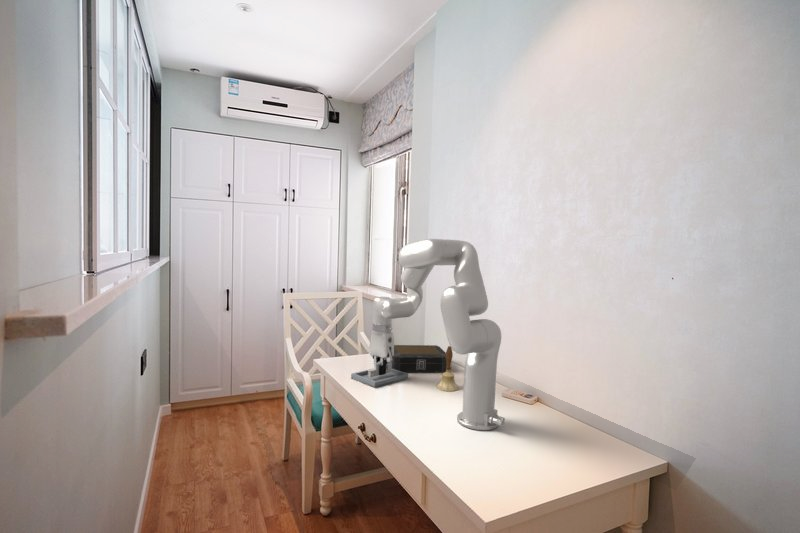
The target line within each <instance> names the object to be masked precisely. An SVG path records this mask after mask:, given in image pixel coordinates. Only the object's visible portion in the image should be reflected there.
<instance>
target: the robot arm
mask: <svg viewBox="0 0 800 533" xmlns="http://www.w3.org/2000/svg"><path fill="white" fill-rule="evenodd" d="M398 261H399V265H400V266H401V267H402V268H404V270H403V272H401V275H400V281H401V283H402V285H404V287H406V288H407V289H409V292H408V294H407V296H406V297H399V298H391V297H389V296H376V297H374V299H373V305H372V306H373V308H372V330H371V334H370V340H369V356H370V357H371V358H372V359H373V363H377V362H379V361H381V362H380V364H381V365H379V375H384V374H386V365H387V363H388V362H390V361H392V357H393V356H394V345H395V341H394V340H395V339H394V333H393V327H392V325H393V324H392V323H393V320H394V319H401V318H410V317H412V316H413V315H414V314H416V312H417V310H418V309H419V307H420V306H421V304H422V301H423V297H424V296H423V294H424V293H423V287H422V286H423V285H424V283H425V281H426V280H427V278H428V277H429V275H430V274H431V272H432V270H433V269H434V267H435V266H454V270H453V279H454V283H455V285H451V286H448V287H447V288H445V289H444V290H443V292H442V294H441V295H440V296H441V297H440V302H439V303H440V305H439V306H440V311H441V316H442V319H443V320H442V321H443V324H444V330H445V333H446V337H447V341H448V344H449V346H451V349H452V351H453V352H455V353H456V354H458V355H466V358H465V362H464V374H463V375H464V377H463V394H462V395H463V397H462V398H463V399H462V411H461V412H459V413H458V414H457V416H456V421H457V423H459V425H461V426H462V427H465V428H468V429H471V430H476V431H491V430H494V429H497V428H498V427H500V428H503V427H504V425H505V417H503V416H501V415H499V414H498V409H496V408H495V406H496V404H495V403H496V402H495V401H496V382H497V368H498V358H499V357H498V356H499V351H500V347H501V344H502V331H501V329H500V326H499V325H498V323H497V322H495V321H493V319H492V320H491V319H487V318H481V319H470V317H474V316H480V315H482V314H484V313H486V311H487V310H488V308H489V299H488V295H487V292H486V287H485V284H484V280H483V276H482V272H481V269H480V263H479V256H478V252H477V249H476V248H475V246H474V245H473V244H472V243H470V242H468V241H464V240H458V239H442V238H441V239H440V238H428V239H427V238H426V239H423V240H418V241H413V242H411V243H407V244H405V245H404V246H403V247H402V248H401V249H400V250H399V253H398ZM384 359H385V360H384Z"/></svg>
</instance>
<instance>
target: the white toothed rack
mask: <svg viewBox="0 0 800 533" xmlns="http://www.w3.org/2000/svg"><path fill="white" fill-rule="evenodd" d="M384 360H385V359H384ZM380 362H381V361H379V362H377V363H374V362H373V365H374V366H373V368H371V369H370V368H369V369H370V370H369V369H367V370H368V377H374V376H378V375H379V365H381V364H380ZM391 370H392V361H390V362H388V363H387V365H386V373H390V372H391Z"/></svg>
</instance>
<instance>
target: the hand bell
mask: <svg viewBox="0 0 800 533" xmlns="http://www.w3.org/2000/svg"><path fill="white" fill-rule="evenodd" d="M445 353H446V361H447V367H446V372H444V373H442V376H441V380H440V381H439V383H438V384H437V385H436V389H438V390H440V391H442V392H456V391H458V390H459V387H458V385H457V384H456V380H455V374H454V373H453V372H452V368H451V367H452V365H451V364H452V360H453V349H452V348H451V346H450V345H448V346H447V349H446V351H445Z"/></svg>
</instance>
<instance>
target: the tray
mask: <svg viewBox="0 0 800 533" xmlns="http://www.w3.org/2000/svg"><path fill="white" fill-rule="evenodd" d="M368 370H370V368H369V369H366V370H362V371H357V372H353V373H351V374H350V379H351V380H353V379H354V380H353V381H356V382H358V381H359V383H360V384H363V383H364V385H366V386H369V387H371V388H374V389H376V388H380V387H383V386H386V385H390V384H393V383H397V382H401V381H405V380H408V379H409V373H404V372H401V371H398V370H395V369H392V370H391V372H390V373H386V374H384V375H378V376H374V377H368Z"/></svg>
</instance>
